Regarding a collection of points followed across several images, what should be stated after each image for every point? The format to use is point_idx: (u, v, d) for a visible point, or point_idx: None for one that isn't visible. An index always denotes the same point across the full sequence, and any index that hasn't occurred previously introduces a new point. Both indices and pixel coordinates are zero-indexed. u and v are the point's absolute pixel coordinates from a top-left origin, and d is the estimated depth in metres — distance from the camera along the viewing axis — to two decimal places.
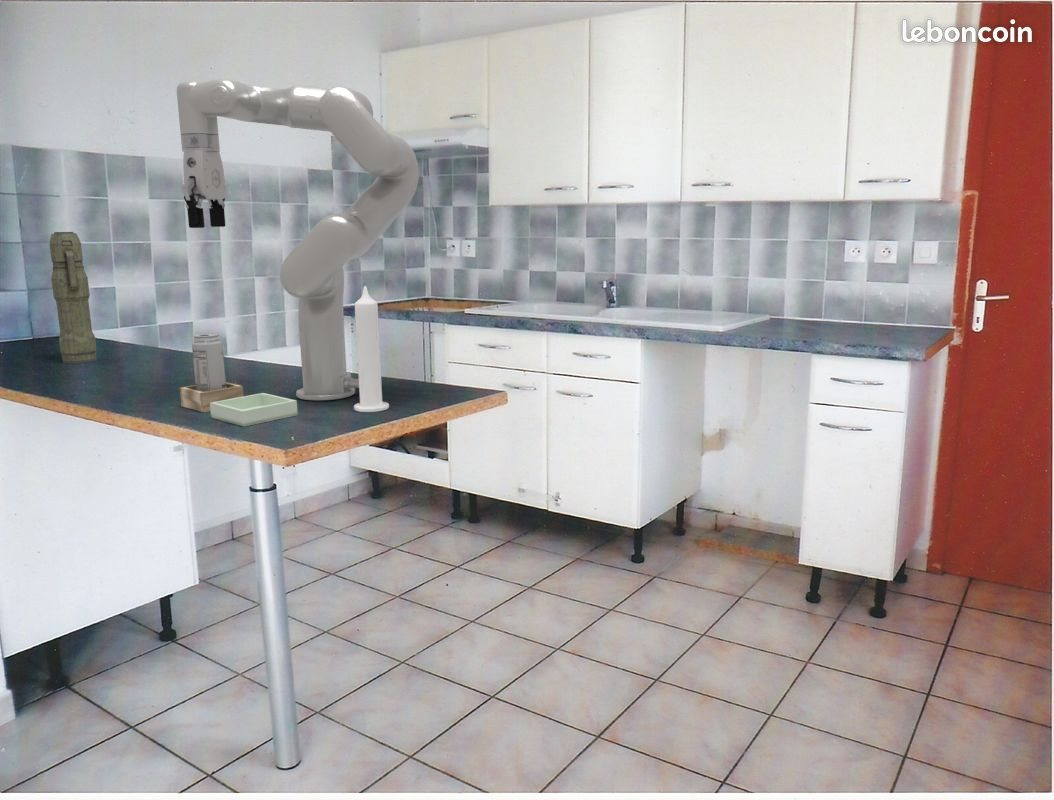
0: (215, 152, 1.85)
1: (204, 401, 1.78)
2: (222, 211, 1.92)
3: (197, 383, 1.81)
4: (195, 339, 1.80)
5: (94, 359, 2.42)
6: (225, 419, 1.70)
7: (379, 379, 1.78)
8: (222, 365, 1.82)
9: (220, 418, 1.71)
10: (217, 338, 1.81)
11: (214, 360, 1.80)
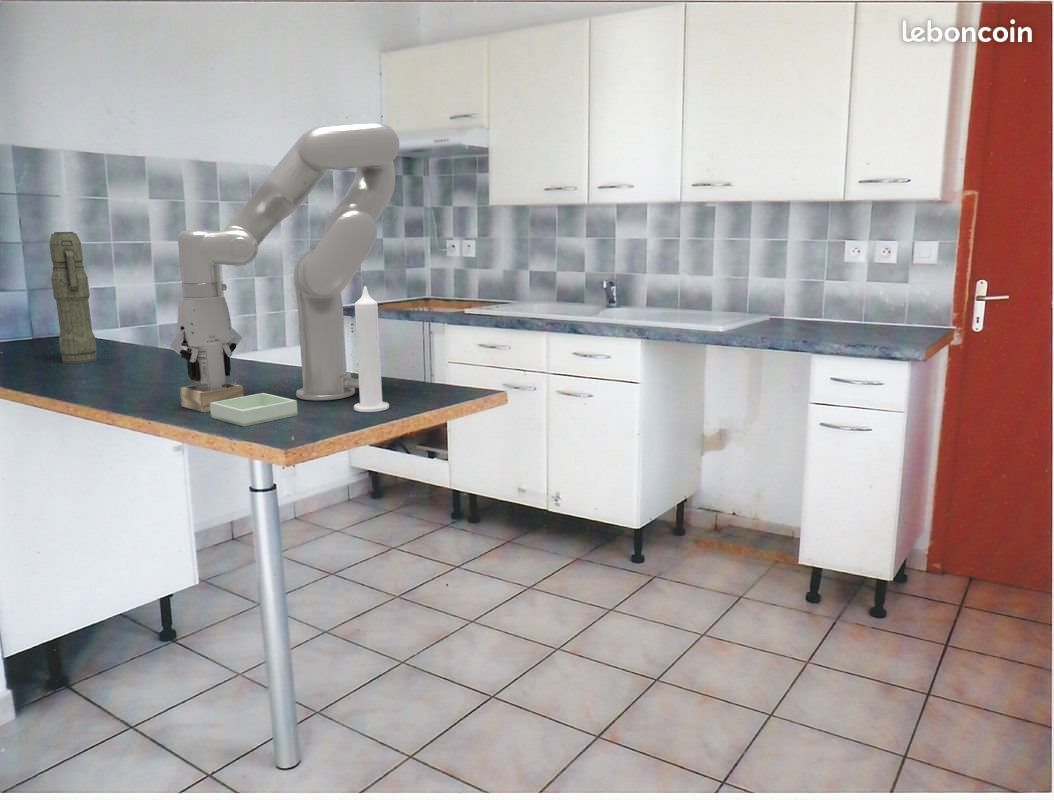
0: None
1: (204, 401, 1.78)
2: None
3: (197, 383, 1.81)
4: None
5: (94, 359, 2.42)
6: (225, 419, 1.70)
7: (379, 379, 1.78)
8: (222, 365, 1.82)
9: (220, 418, 1.71)
10: None
11: (214, 360, 1.80)
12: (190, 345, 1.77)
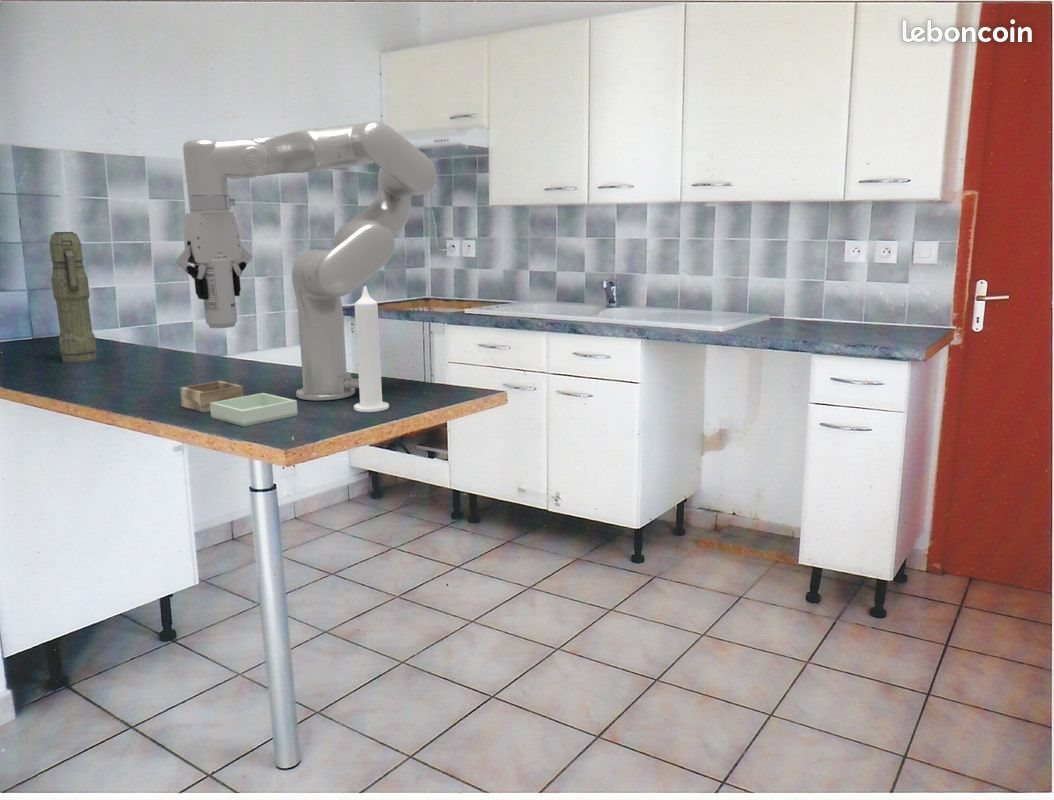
0: None
1: (204, 401, 1.78)
2: None
3: (205, 302, 1.74)
4: None
5: (94, 359, 2.42)
6: (225, 419, 1.70)
7: (379, 379, 1.78)
8: (231, 283, 1.75)
9: (220, 418, 1.71)
10: (225, 255, 1.73)
11: (222, 278, 1.73)
12: (197, 261, 1.70)
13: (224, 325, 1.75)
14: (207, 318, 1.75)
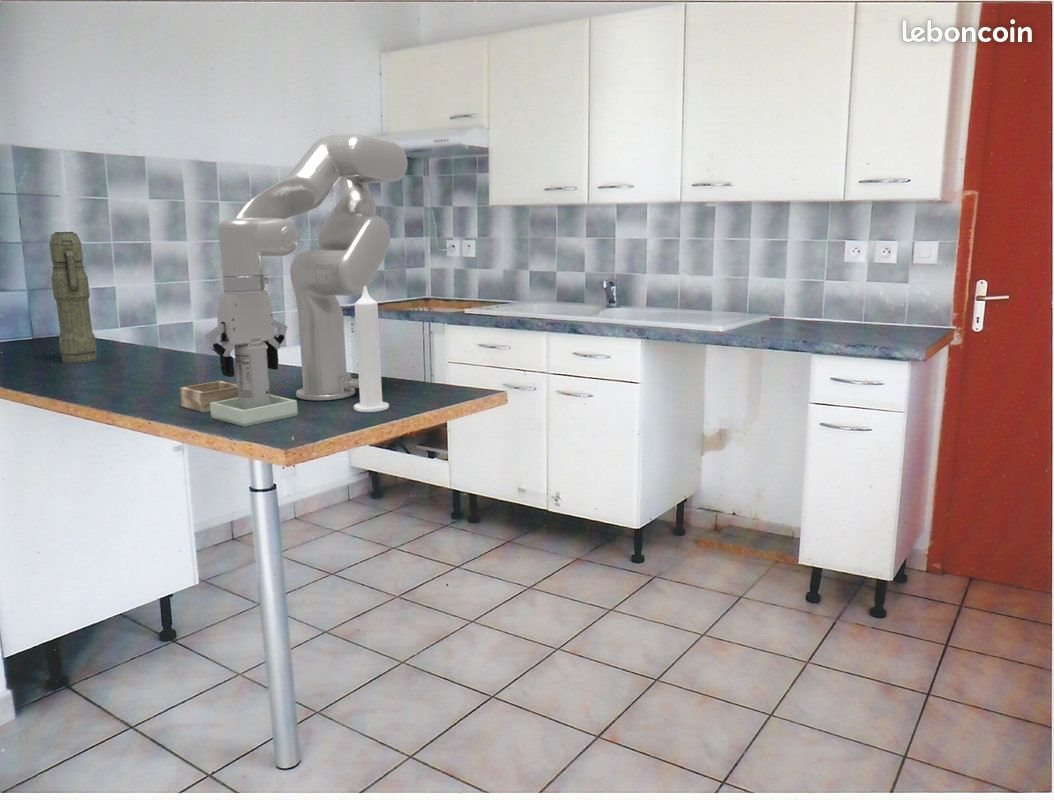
0: None
1: (204, 401, 1.78)
2: None
3: (239, 389, 1.71)
4: None
5: (94, 359, 2.42)
6: (225, 419, 1.70)
7: (379, 379, 1.78)
8: (266, 370, 1.72)
9: (220, 418, 1.71)
10: (261, 342, 1.71)
11: (258, 365, 1.70)
12: (231, 342, 1.66)
13: None
14: (241, 405, 1.72)
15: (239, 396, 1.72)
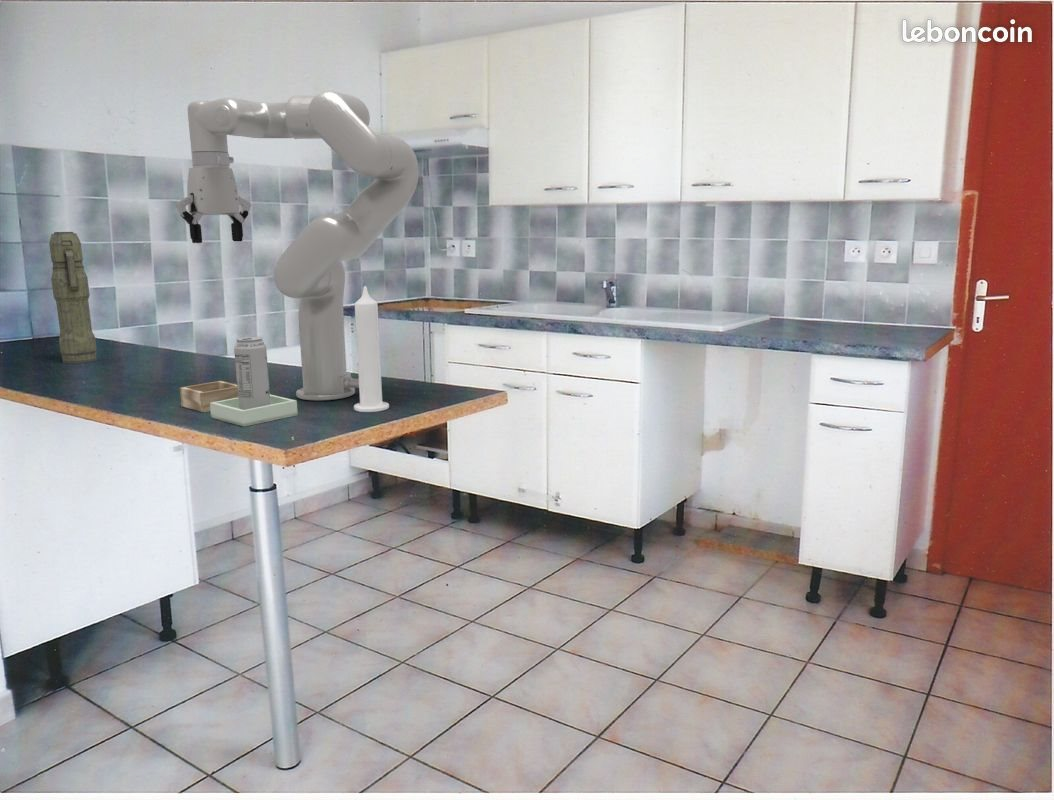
0: None
1: (204, 401, 1.78)
2: None
3: (239, 389, 1.71)
4: (238, 343, 1.70)
5: (94, 359, 2.42)
6: (225, 419, 1.70)
7: (379, 379, 1.78)
8: (266, 370, 1.72)
9: (220, 418, 1.71)
10: (261, 342, 1.71)
11: (258, 365, 1.70)
12: (199, 211, 1.87)
13: None
14: (241, 405, 1.72)
15: (239, 396, 1.72)
